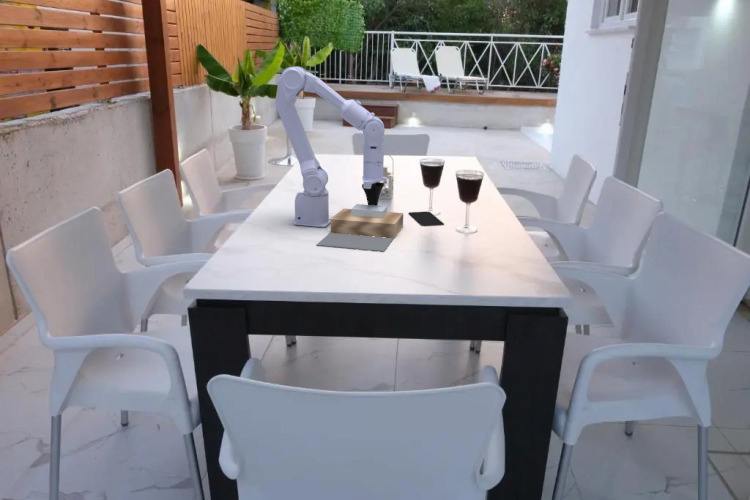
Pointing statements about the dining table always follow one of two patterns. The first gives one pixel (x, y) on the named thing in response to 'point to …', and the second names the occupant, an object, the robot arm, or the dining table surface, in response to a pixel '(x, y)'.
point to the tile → (369, 211)
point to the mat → (355, 242)
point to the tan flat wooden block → (367, 224)
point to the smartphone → (425, 219)
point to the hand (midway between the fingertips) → (372, 208)
